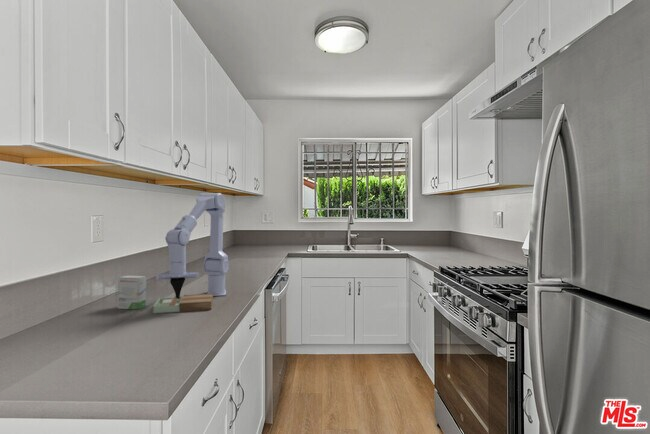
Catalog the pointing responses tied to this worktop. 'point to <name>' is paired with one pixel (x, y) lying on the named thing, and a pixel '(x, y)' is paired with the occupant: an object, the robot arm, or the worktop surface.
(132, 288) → the ink box
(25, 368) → the worktop surface
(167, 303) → the cream tile
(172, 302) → the terracotta tile
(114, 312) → the worktop surface
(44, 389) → the worktop surface
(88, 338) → the worktop surface
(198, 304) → the walnut board
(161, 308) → the tray
